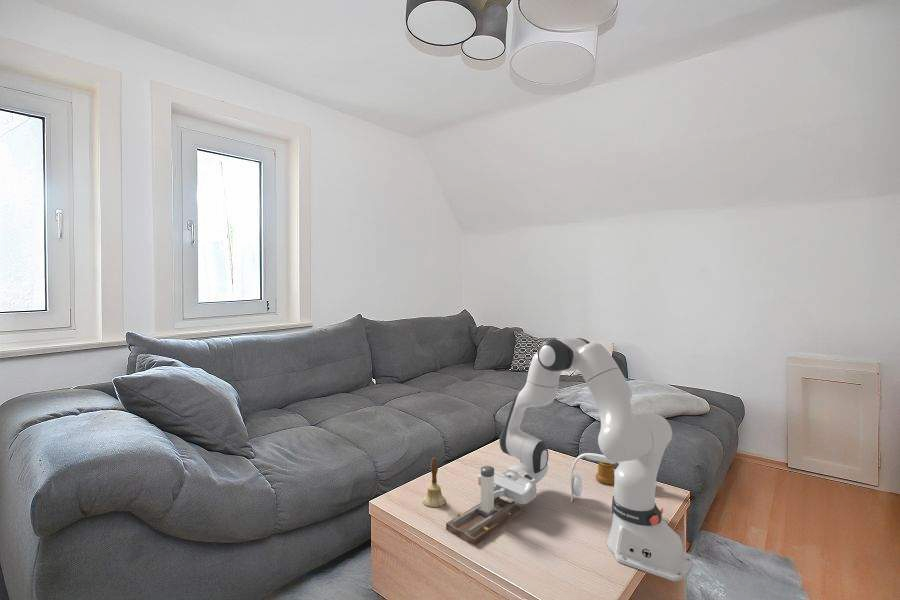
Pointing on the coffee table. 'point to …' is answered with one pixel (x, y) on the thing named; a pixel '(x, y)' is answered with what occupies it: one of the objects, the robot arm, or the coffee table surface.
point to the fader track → (483, 521)
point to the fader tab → (487, 491)
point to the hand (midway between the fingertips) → (490, 494)
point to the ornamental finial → (605, 473)
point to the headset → (577, 481)
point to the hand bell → (434, 489)
